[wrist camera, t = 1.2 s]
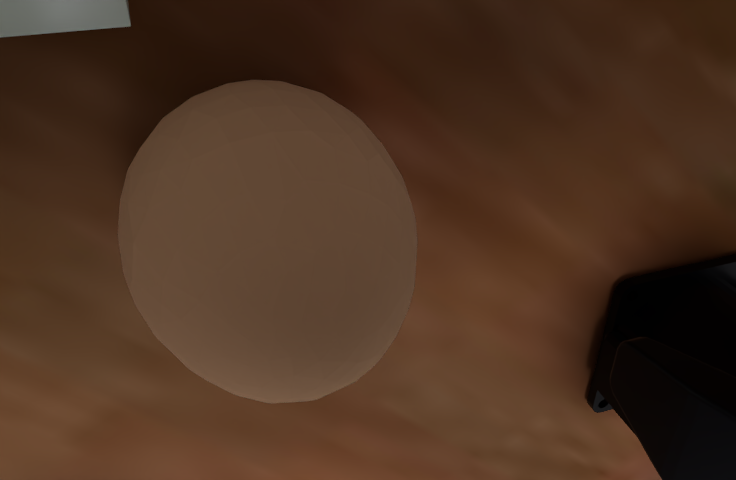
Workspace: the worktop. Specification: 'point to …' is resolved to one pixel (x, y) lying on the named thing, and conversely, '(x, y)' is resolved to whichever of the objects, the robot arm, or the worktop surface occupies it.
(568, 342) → the worktop surface
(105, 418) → the worktop surface
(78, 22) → the dish
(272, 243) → the egg
